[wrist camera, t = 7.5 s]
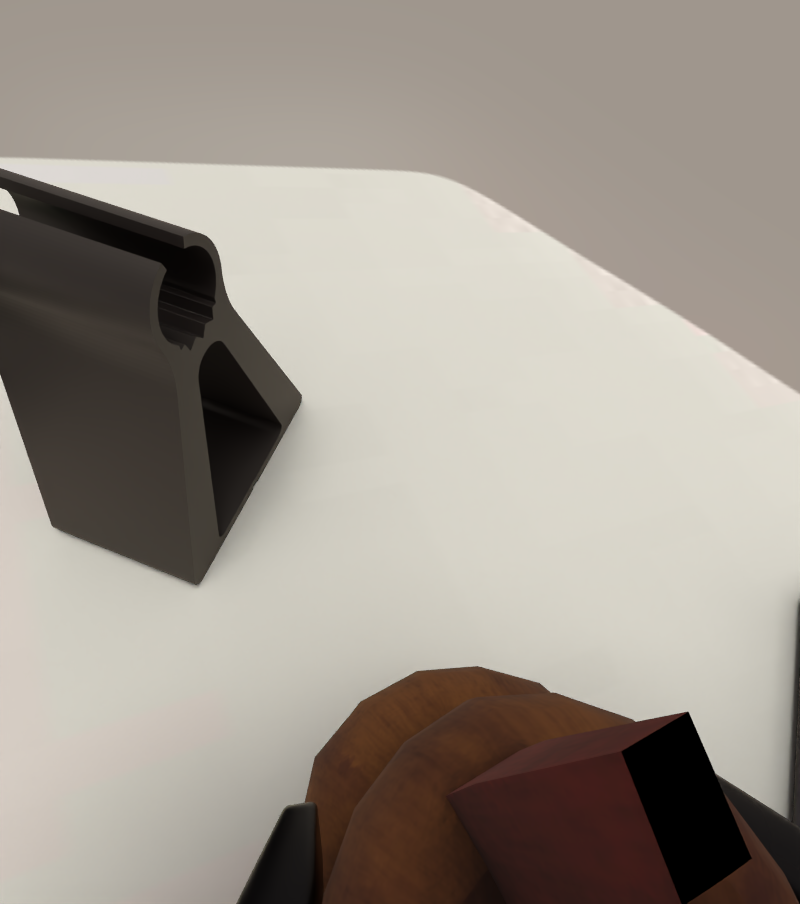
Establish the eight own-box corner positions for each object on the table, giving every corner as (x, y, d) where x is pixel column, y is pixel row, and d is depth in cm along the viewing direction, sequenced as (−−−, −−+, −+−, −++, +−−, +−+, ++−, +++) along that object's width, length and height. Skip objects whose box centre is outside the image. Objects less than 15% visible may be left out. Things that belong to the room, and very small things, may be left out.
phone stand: (182, 357, 26) (66, 78, 15) (303, 401, 25) (267, 139, 15) (56, 530, 22) (-225, 305, 11) (197, 588, 21) (39, 407, 10)
